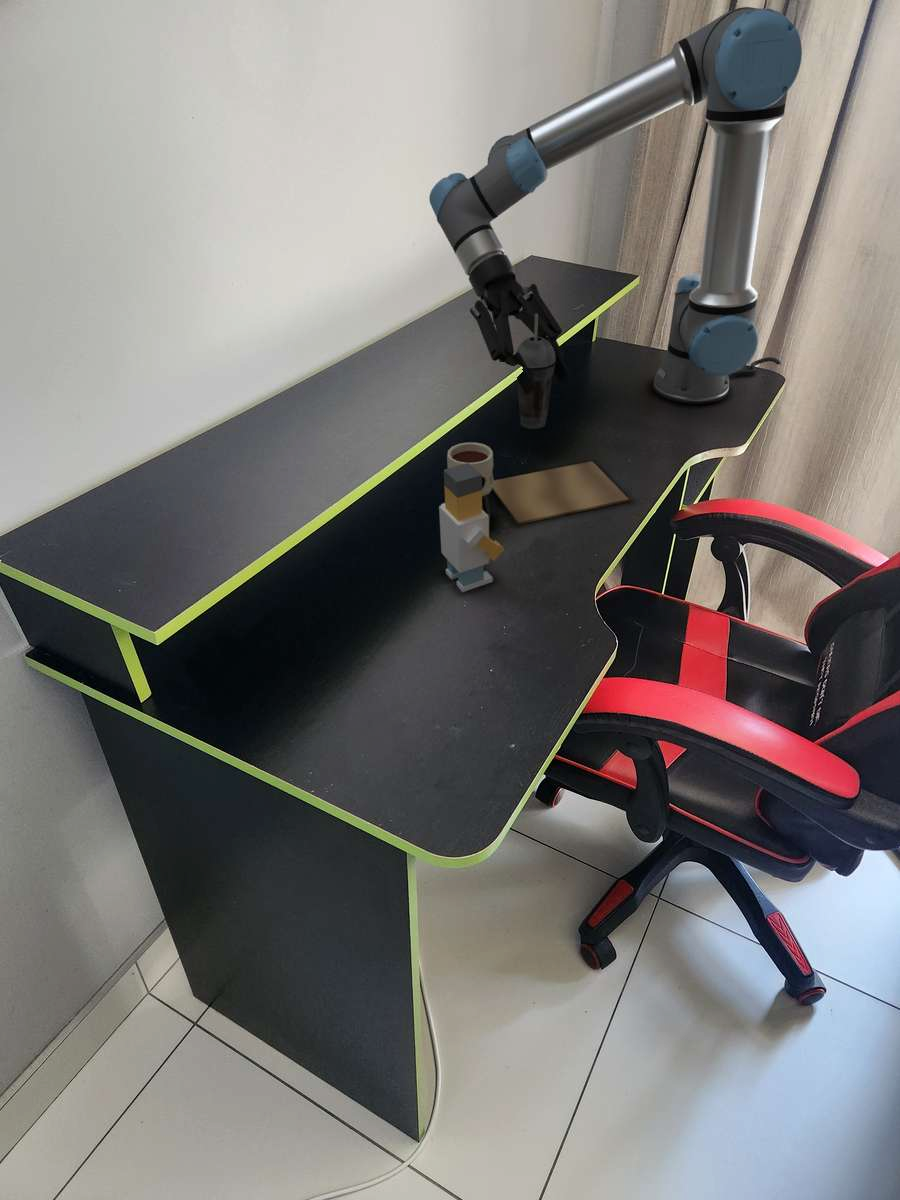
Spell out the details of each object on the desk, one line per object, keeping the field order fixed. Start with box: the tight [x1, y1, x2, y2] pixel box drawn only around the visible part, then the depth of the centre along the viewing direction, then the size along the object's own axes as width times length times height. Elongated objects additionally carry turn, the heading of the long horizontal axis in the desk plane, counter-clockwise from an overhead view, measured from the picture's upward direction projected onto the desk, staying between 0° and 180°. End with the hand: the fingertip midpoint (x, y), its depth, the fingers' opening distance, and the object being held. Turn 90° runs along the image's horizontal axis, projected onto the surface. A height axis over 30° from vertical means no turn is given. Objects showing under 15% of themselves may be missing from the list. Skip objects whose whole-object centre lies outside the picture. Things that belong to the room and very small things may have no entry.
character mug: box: [446, 442, 494, 525], centre depth 123 cm, size 11×7×13 cm, turn 141°
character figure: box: [438, 463, 506, 593], centre depth 110 cm, size 8×10×18 cm
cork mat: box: [491, 460, 630, 526], centre depth 134 cm, size 20×14×1 cm
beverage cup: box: [515, 314, 556, 430], centre depth 135 cm, size 7×7×20 cm
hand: (548, 384), depth 133 cm, fingers closed on beverage cup, 7 cm apart
